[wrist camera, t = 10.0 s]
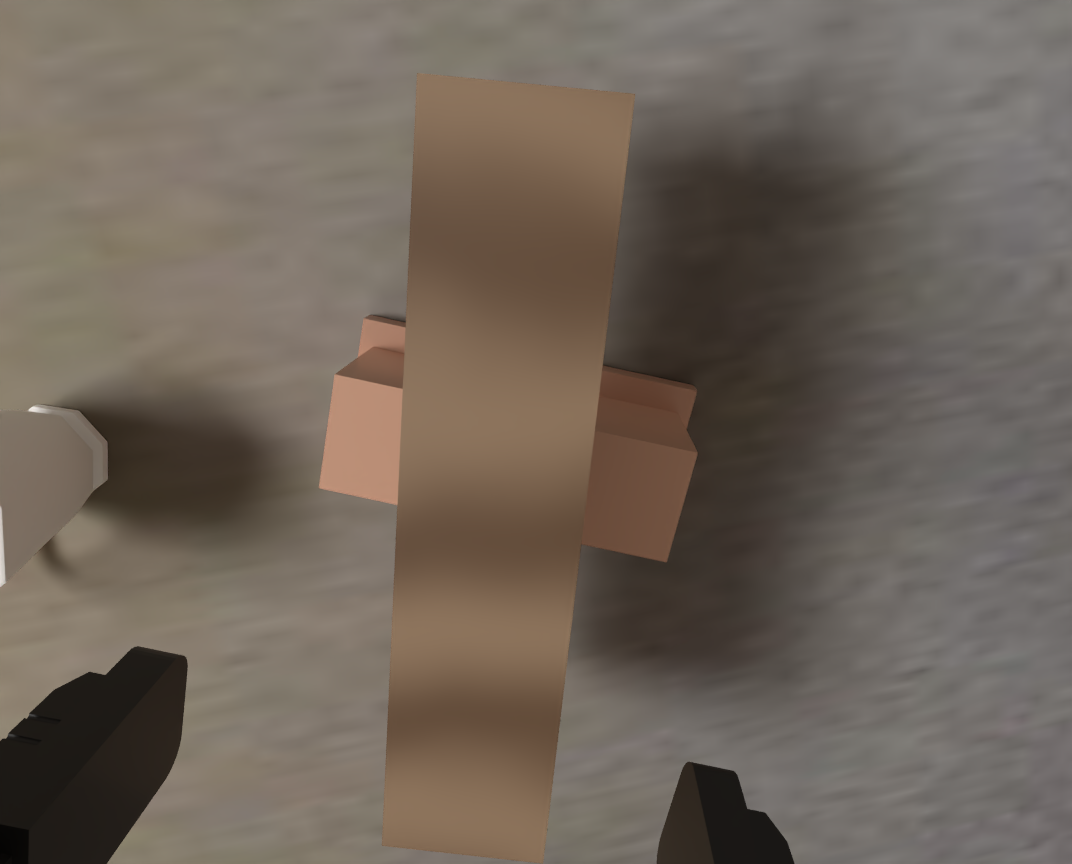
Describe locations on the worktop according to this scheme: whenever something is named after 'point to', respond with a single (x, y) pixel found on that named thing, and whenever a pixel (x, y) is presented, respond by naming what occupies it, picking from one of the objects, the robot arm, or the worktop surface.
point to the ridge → (617, 457)
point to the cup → (44, 477)
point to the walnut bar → (495, 449)
